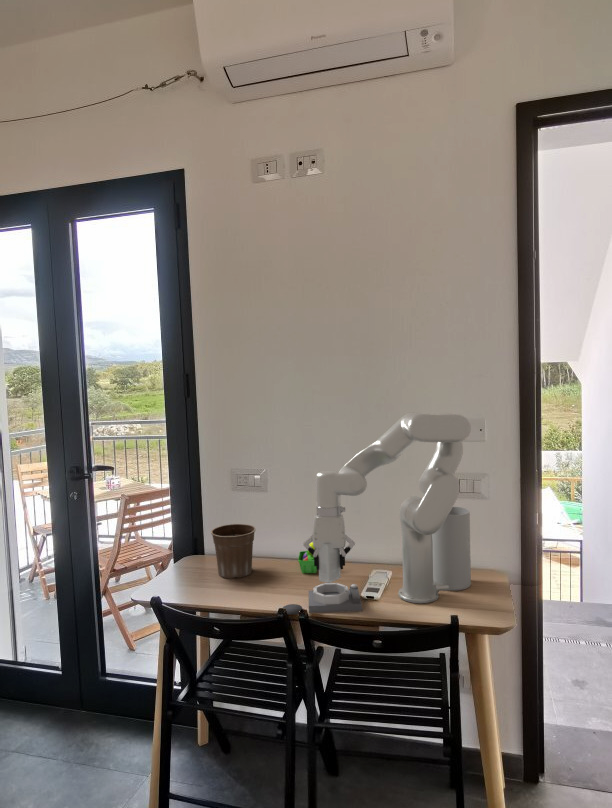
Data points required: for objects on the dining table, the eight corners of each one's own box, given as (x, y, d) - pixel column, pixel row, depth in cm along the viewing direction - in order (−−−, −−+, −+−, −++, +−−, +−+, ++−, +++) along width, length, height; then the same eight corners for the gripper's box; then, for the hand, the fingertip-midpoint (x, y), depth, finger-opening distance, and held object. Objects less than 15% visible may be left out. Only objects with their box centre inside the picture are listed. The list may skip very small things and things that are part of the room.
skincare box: (330, 575, 171) (329, 538, 171) (340, 578, 168) (340, 540, 168) (318, 580, 166) (317, 542, 166) (329, 584, 164) (328, 545, 163)
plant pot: (241, 583, 187) (240, 537, 186) (203, 577, 194) (201, 533, 193) (265, 568, 202) (263, 526, 201) (228, 563, 209) (227, 522, 208)
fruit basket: (299, 564, 206) (299, 534, 205) (323, 563, 205) (322, 534, 205) (298, 574, 194) (297, 543, 194) (322, 574, 194) (321, 543, 193)
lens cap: (302, 606, 167) (302, 603, 167) (302, 615, 161) (302, 612, 161) (282, 607, 167) (282, 604, 167) (282, 616, 161) (282, 612, 161)
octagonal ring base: (358, 595, 174) (357, 581, 174) (362, 611, 162) (361, 596, 162) (308, 596, 174) (308, 582, 174) (308, 612, 162) (308, 597, 162)
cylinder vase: (456, 575, 189) (455, 504, 188) (478, 588, 177) (477, 512, 176) (425, 580, 185) (423, 508, 184) (445, 593, 173) (444, 516, 172)
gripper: (355, 508, 170) (356, 563, 171) (300, 509, 170) (301, 564, 171) (357, 513, 163) (358, 571, 164) (300, 514, 163) (301, 573, 164)
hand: (329, 567), depth 167 cm, fingers closed on skincare box, 6 cm apart
